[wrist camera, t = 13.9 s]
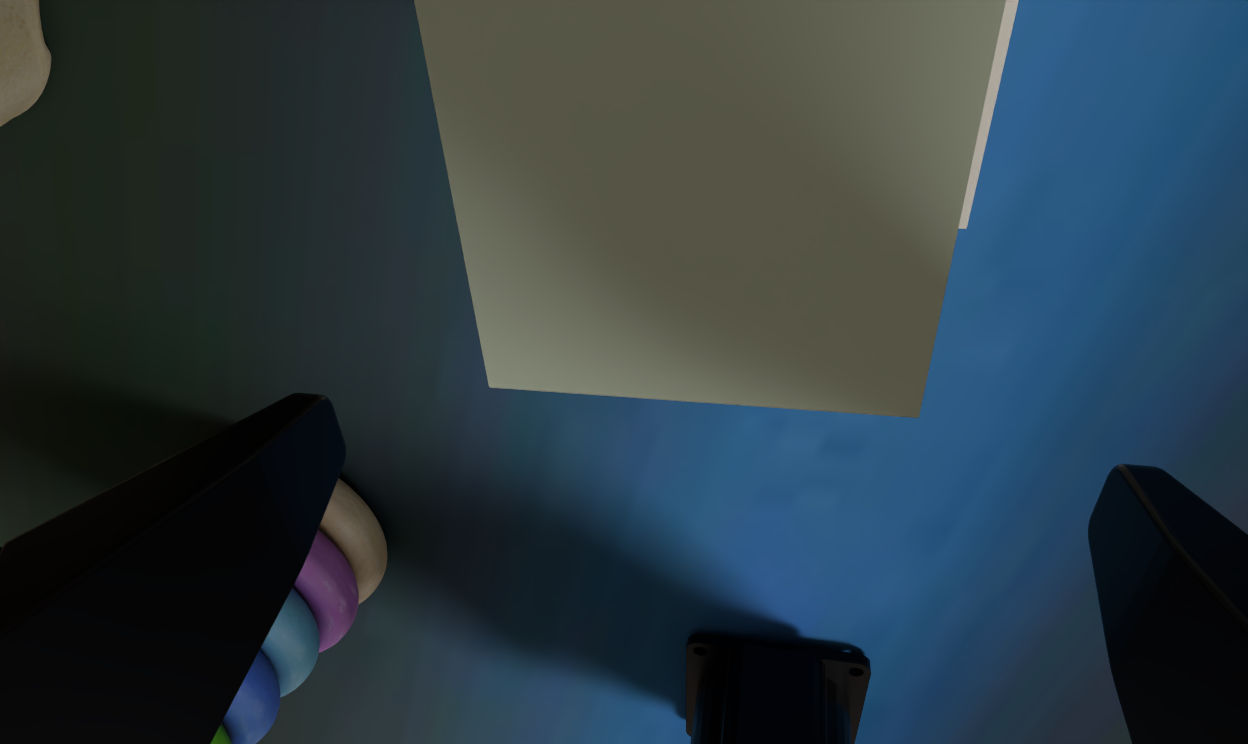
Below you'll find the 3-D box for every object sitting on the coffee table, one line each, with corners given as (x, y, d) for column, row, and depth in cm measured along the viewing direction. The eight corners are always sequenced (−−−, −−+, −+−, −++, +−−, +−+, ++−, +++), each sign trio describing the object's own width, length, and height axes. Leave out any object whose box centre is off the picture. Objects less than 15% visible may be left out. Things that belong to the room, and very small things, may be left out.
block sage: (884, 219, 13) (919, 418, 9) (581, 210, 14) (489, 386, 10) (940, -154, 10) (1027, -104, 6) (548, -133, 11) (400, -79, 7)
